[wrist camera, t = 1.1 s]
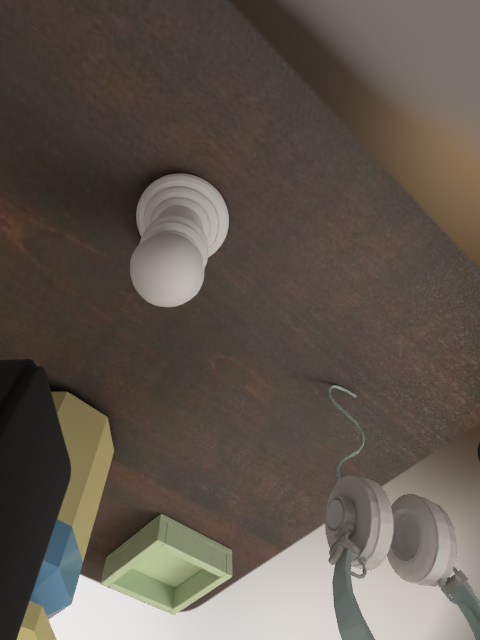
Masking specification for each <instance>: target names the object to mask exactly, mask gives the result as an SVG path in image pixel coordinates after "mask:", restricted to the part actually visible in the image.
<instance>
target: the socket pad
mask: <svg viewBox="0 0 480 640" xmlns="http://www.w3.org/2000/svg"><path fill="white" fill-rule="evenodd" d="M231 577H232V550H231V549H229V548H227V547H225V546H223V545H221V544H219V543H217V542H216V541H214V540H212V539H210V538H208V537H206V536H204V535H202V534H200V533H198V532H196V531H194V530H192V529H190V528H188V527H187V526H185V525H183V524H181V523H179V522H177V521H175V520H173V519H171V518H169V517H167V516H165V515H163V514H160V515H158V516H157V517H156V518H155V519H153V520H152V521H151V522H150V523H148V524H147V525H146V526H145V527H143V528H142V529H141V530H140V531H138V532H137V533H136V534H135V535H133V536H132V537H131V538H130V539H128V540H127V541H126V542H125V543H123V544H122V545H121V546H120V547H118V548H117V549H116V550H115V551H113V552H112V553H111V554H110V555H108V556H107V557H106V562H105V566H104V570H103V575H102V579H101V583H100V584H102V585H104V586H107V587H109V588H111V589H114V590H116V591H118V592H121V593H123V594H125V595H128V596H130V597H133V598H135V599H137V600H140V601H142V602H144V603H147V604H149V605H152V606H154V607H156V608H159V609H161V610H164V611H166V612H169V613H171V614H176V613H178V612H179V611H181V610H182V609H184V608H185V607H187V606H188V605H190V604H191V603H193V602H194V601H196V600H197V599H199V598H201V597H202V596H204V595H205V594H207V593H208V592H210V591H211V590H213V589H214V588H216V587H217V586H219V585H220V584H222V583H223V582H225V581H226V580H228V579H229V578H231Z"/></svg>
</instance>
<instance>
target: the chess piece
mask: <svg viewBox="0 0 480 640" xmlns="http://www.w3.org/2000/svg"><path fill="white" fill-rule="evenodd" d="M136 220H137V226H138V230H139V233H140V235H141V237H142V238H141V240H140V243H139V245H138V247H137V248H136V249H135V251H134V253H133V255H132V258H131V262H130V274H131V279H132V282H133V285H134V287H135V289H136V290H137V292H138V293H139V294H140V295H141V297H142V298H144V299H145V300H146V301H147V302H149V303H151V304H153V305H156V306H160V307H174V306H178V305H181V304H184V303H186V302H187V301H189V300H190V299H192V298H193V297H194V296H195V295H196V294H197V293H198V291H199V290H200V288H201V286H202V283H203V280H204V268H205V266H206V263H207V258H208V257H210V256H211V255H212V254H214V253H215V252H216V251H217V250H218V249H219V248H220V246H221V245H222V243H223V242H224V240H225V238H226V235H227V232H228V227H229V215H228V210H227V207H226V204H225V202H224V200H223V198H222V196H221V195H220V193H219V192H218V191H217V190H216V189H215V188H214V187H213V186H212V185H211V184H210V183H208V182H207V181H205V180H203V179H201V178H199V177H197V176H194V175H190V174H182V173H180V174H170V175H167V176H164V177H161V178H159V179H157V180H156V181H154V182H153V183H151V184H150V185H149V186H148V187H147V188H146V190H145V191H144V192H143V194H142V196H141V197H140V200H139V202H138V206H137V212H136Z"/></svg>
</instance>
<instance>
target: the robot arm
mask: <svg viewBox="0 0 480 640" xmlns="http://www.w3.org/2000/svg"><path fill="white" fill-rule="evenodd" d="M478 457H479V460H480V444H479V447H478ZM70 477H71V462H70V458H69V455H68V451H67V448H66V444H65V440H64V437H63V433H62V429H61V426H60V422H59V419H58V415H57V411H56V408H55V404H54V401H53V397H52V393H51V390H50V386H49V383H48V379H47V375H46V372H45V370H44V368H43V367H36V365H35V363H34V362H33V361H32V360H30V359H26V360H0V640H17V637H18V634H19V631H20V628H21V625H22V622H23V619H24V616H25V613H26V610H27V607H28V604H29V601H30V598H31V595H32V592H33V589H34V586H35V583H36V580H37V577H38V574H39V571H40V568H41V565H42V562H43V559H44V556H45V554H46V551H47V548H48V545H49V542H50V539H51V536H52V533H53V530H54V527H55V524H56V521H57V518H58V515H59V512H60V509H61V506H62V503H63V500H64V497H65V494H66V491H67V488H68V485H69V482H70Z"/></svg>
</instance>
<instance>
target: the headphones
mask: <svg viewBox="0 0 480 640" xmlns="http://www.w3.org/2000/svg"><path fill="white" fill-rule="evenodd" d="M332 388H338V389H340V390H343V391H345V392H347V393H348V394H350V395H352V396H353V397H356V395H355V394H354V393H352V392H350V391H349V390H347V389H345V388H343V387H341V386H337V385H333V386H330V387H329V388H328V396H329V398H330V399H331V401H332V402H333V403H334V405H335V406H336V407H338V408H339V409H340V410H341V411H342V412H343V413H344V414H345V415H346V416H347V417H348V418H349V419H350V420H351V421H352V422H353V423H354V424H355V426H356V427H357V428H358V430H359V432H360V435H361V444H360V446H359V447H358V449H357V450H355V451H354V452H352V453H350V454H348V455H346V456H344V457H343V458H341V459H340V460H339V462H338V463H337V466H336V475H337V479H338V481H337V483H336V485H335V486H334V488H333V489H332V491H331V494H330V497H329V500H328V502H327V508H326V515H325V527H326V535H327V540H328V544H329V547H330V551H329V554H330V558H329V562H330V563H331V565H333V564H335V563H336V564H335V569H334V576H333V595H334V608H335V613H336V618H337V623H338V628H339V632H340V634H341V637H342V640H375V639H374V637H373V635H372V633H371V631H370V630H369V627H368V626H367V624H366V622H365V620H364V618H363V616H362V614H361V611H360V609H359V606H358V604H357V601H356V599H355V596H354V594H353V589H352V583H351V575H352V576H355V577H357V578H364V577H365V575H366V570H372V569H375V568H376V567H378V566H379V565H380V564H381V563H382V562H383V561H384V559H385V557H386V556H387V557H388V560H389V562H390V564H391V566H392V568H393V569H394V571H395V572H396V573H397V574H398V575H399V576H400V577H401V578H402V579H404V580H406V581H409V582H412V583H416V584H419V585H429V586H437V585H439V587H441V590H442V591H443V592H444V593H445V595H446V596H447V598H448V599H449V600H450V601H451V602H453V603H454V604H457V605H458V606H459V608H460V609H461V611H462V613H463V614H464V616H465V617H466V619H467V621H468V623H469V625H470V627H471V629H472V631H473V633H474V635H475V638H476V640H480V601H479V600H478V599H477V597H476V596H475V593H474V591H473V589H472V587H471V586H470V585H469V583H468V582H467V581H466V580H468V578H467V577H466V576H465V575H464V574H463V572H462V571H461V570H460V571H457V569H456V568H455V567H454V564H455V561H456V554H457V541H456V536H455V531H454V527H453V525H452V523H451V520H450V519H449V516H448V514H447V513H446V512H445V511H444V510H443V509H442V508H441V507H440V506H439V505H437V504H435V503H433V502H431V501H430V500H428V499H426V498H423V497H420V496H417V495H414V494H406V495H403V496H401V497H399V498H398V499H397V500H396V501H395V502H394V503H393V504H392V506H391V505H390V501H389V499H388V497H387V494H386V492H385V491H384V490H383V488H382V487H381V486H380V485H379V484H378V483H376V482H375V481H372V480H369V479H365V478H362V477H356V476H353V475H350V476H344V477H343V478H341V474H340V471H339V469H340V466H341V464H342V463H343V462H344V461H345V460H346V459H348V458H350V457H352V456H354V455H356V454H357V453H358V452H359V451H360V450H361V449H362V448H363V446H364V441H365V438H364V434H363V431H362V429H361V427H360V426H359V425H358V423H357V422H356V421H355V420H354V419H353V418H352V417H351V416H350V415H349V414H348V413H347V412H346V411H345V410H344V409H343V408H342V407H341V406H340V405H339V404H338V403H337V402H336V401H335V400H334V399H333V397H332V395H331V389H332ZM351 566H353V567H356V568H360V569H363V574H361V575H358V574H356V573H354V572H352V571H350V570H351ZM452 571H454V572H455V573H456V574H455V575H453V576H452V577H451V578H450V577H449V576H450V574H451V573H452ZM446 579H447V581H446ZM445 581H446V582H445ZM449 594H450V595H451V596H452V598H451V597H450V595H449Z"/></svg>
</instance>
